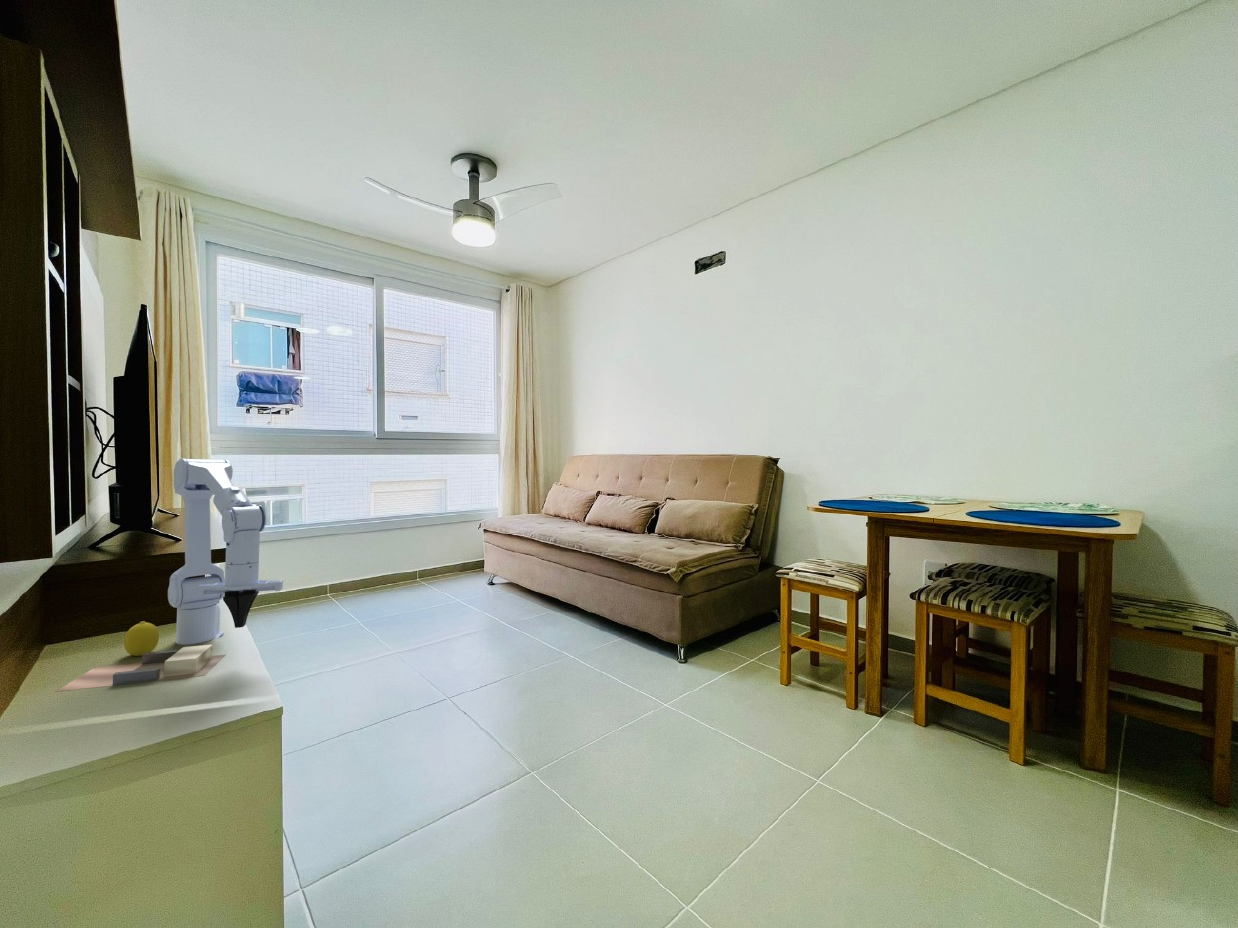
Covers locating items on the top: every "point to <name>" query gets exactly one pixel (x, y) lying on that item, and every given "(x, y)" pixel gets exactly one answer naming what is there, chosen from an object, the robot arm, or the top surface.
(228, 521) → the robot arm
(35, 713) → the top surface
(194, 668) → the block
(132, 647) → the lemon
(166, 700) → the top surface
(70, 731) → the top surface
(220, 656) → the board
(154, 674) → the channel
